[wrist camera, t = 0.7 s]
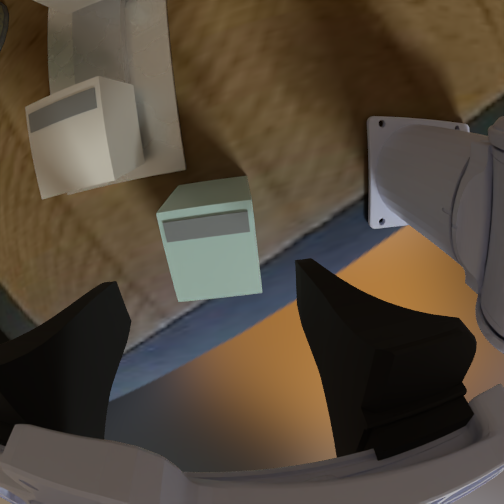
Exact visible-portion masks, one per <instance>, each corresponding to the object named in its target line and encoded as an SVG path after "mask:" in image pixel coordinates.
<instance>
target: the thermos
mask: <svg viewBox="0 0 504 504" xmlns="http://www.w3.org/2000/svg"><path fill="white" fill-rule="evenodd" d="M8 21H9V14H8V10H7V7H6V6H5V5H4V4H3V3H2V2H0V51H1V48H2V46H3V44H4V41H5V37H6V33H7V30H8Z"/></svg>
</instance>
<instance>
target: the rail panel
mask: <svg viewBox="0 0 504 504" xmlns="http://www.w3.org/2000/svg"><path fill="white" fill-rule="evenodd" d="M48 70H49V85H50V95H51V94H54V93H56V92H58V91H61V90H63V89H65V88H68V87H70V86H73V85H75V84H78V83H80V82H83V81H86V80H89V79H91V78H94V77H97V76H101V77H105V78H109V79H113V80H117V81H121V82H124V83H128V84H131V85H133V86H134V94H135V102H136V109H137V116H138V123H139V130H140V136H141V142H142V148H143V154H144V160H145V164H143V165H141V166H139V167H137V168H136V169H134V170H132V171H130V172H129V173H127V174H125V175H123V176H122V177H120V178H118V179H116V180H115V181H110V182H106V183H102V184H98V185H94V186H90V187H86V188H82V189H78V190H74V191H70V192H67V194H68V195H70V194H74V193H78V192H82V191H86V190H90V189H94V188H98V187H102V186H106V185H111V184H115V183H120V182H124V181H129V180H134V179H139V178H144V177H149V176H154V175H159V174H165V173H171V172H176V171H182V170H186V169H187V167H186V160H185V154H184V148H183V141H182V134H181V127H180V120H179V113H178V106H177V98H176V90H175V82H174V74H173V65H172V56H171V46H170V36H169V25H168V13H167V1H166V0H101V1H99V2H96V3H94V4H91V5H89V6H86V7H84V8H82V9H79V10H77V11H75V12H72V13H70V14H68V15H64V14H62V13H60V12H58V11H56V10H54V9H51V8H48Z"/></svg>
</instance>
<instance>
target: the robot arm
mask: <svg viewBox="0 0 504 504" xmlns="http://www.w3.org/2000/svg"><path fill="white" fill-rule="evenodd" d="M380 120H381V121H382V122H383V125H382V127H380V126H379V121H380ZM455 127H456V130H455ZM367 137H368V169H369V201H368V224H369V226H370V227H372V228H373V229H377V228H386V227H395V226H404V225H410V226H411V227H413V228H414V229H416V230H417V231H418V232H420V233H421V234H422V235H423V236H425V237H426V238H428V239H429V240H430V241H431V242H433V243H434V244H435V245H437V246H438V247H439V248H440V249H441V250H443V251H444V252H445V253H446V254H448V255H449V256H450V257H451V258H453V259H454V260H455V261H456V262H457V263H459V264H460V265H461V266H462V267H463V268H464V270H465V275H466V280H465V283H466V284H467V285H468V286H469V287H470V288H471V289H473V290H474V291H475V292H476V293H477V294H478V298H477V302H476V319H477V323H478V325H479V328H480V330H481V332H482V333H483V335H484V336H485V338H486V339H487V340H488V341H489V342H490V343H491V344H492V345H493V346H494V347H495V348H496V349H498V350H499V351H500V352H502V353H503V354H504V117H500V118H498V120H497V121H496V122H495V123H494V125H492V126H490V127H489V128H488V136H485V135H480V134H475V133H470V132H469V127H468V125H467V124H464V123H457V122H449V121H440V120H430V119H419V118H405V117H385V116H371V117H369V118H368V120H367ZM382 218H383V221H382V222H381V223H379V220H380V219H382ZM295 266H296V289H297V306H298V311H299V315H300V320H301V324H302V327H303V330H304V333H305V335H306V338H307V341H308V343H309V346H310V349H311V351H312V354H313V356H314V359H315V362H316V365H317V367H318V370H319V373H320V377H321V380H322V385H323V389H324V393H325V397H326V402H327V407H328V411H329V416H330V421H331V426H332V432H333V437H334V442H335V449H336V455H337V458H333V459H329V460H324V461H319V462H314V463H308V464H302V465H296V466H288V467H281V468H273V469H263V470H253V471H237V472H182V471H181V470H180V469H179V468H178V467H177V466H175V465H174V464H173V463H171V462H170V461H169V460H167V459H166V458H164V457H163V456H162V455H159V454H156V453H153V452H151V451H148V450H146V449H143V448H141V447H138V446H133V445H128V444H124V443H120V442H116V441H110V440H104V432H105V421H106V413H107V407H108V402H109V396H110V391H111V387H112V384H113V381H114V378H115V375H116V372H117V369H118V366H119V363H120V361H121V358H122V355H123V352H124V349H125V346H126V343H127V340H128V336H129V331H130V325H131V319H130V317H129V314H128V312H127V309H126V306H125V304H124V301H123V298H122V296H121V293H120V290H119V287H118V285H117V282H116V281H114V282H104V283H102V284H100V285H98V286H97V287H95V288H93V289H92V290H90V291H89V292H88V293H86V294H85V295H83V296H82V297H81V298H79V299H78V300H76V301H75V302H74V303H72V304H71V305H70V306H68V307H67V308H65V309H64V310H62V311H61V312H60V313H58V314H57V315H55V316H54V317H53V318H51V319H49V320H48V321H46V322H45V323H43V324H42V325H40V326H38V327H36V328H35V329H33V330H31V331H29V332H27V333H25V334H23V335H21V336H19V337H17V338H15V339H13V340H11V341H8V342H6V343H3V344H1V345H0V497H1V498H3V499H5V500H7V501H9V502H10V503H12V504H451V503H453V502H455V501H457V500H458V499H460V498H462V497H464V496H465V495H467V494H469V493H470V492H472V491H474V490H476V489H477V488H479V487H480V486H482V485H484V484H485V483H487V482H488V481H490V480H491V479H492V478H494V477H496V476H497V475H498V474H499V473H500V472H502V471H503V470H504V387H503V386H502V385H501V384H498V385H496V386H494V387H493V388H491V389H489V390H487V391H485V392H483V393H481V394H479V395H478V396H476V397H474V398H473V399H472V400H471V401H470V402H469V403H468V402H467V401H466V399H465V397H464V395H465V394H466V392H467V390H466V388H465V386H464V385H463V383H462V381H463V379H464V376H465V375H466V373H467V371H468V369H469V367H470V365H471V363H472V361H473V358H474V355H475V353H476V343H477V342H476V339H475V337H474V335H473V334H472V333H471V332H470V330H469V329H468V328H467V327H466V326H465V325H464V323H463V322H462V321H461V320H460V319H459V318H456V317H448V316H441V315H433V314H428V313H423V312H419V311H414V310H411V309H407V308H403V307H400V306H397V305H394V304H391V303H388V302H386V301H383V300H381V299H378V298H376V297H373V296H371V295H369V294H367V293H365V292H363V291H361V290H359V289H357V288H356V287H354V286H352V285H350V284H349V283H347V282H345V281H344V280H342V279H340V278H339V277H337V276H336V275H334V274H333V273H331V272H330V271H329V270H327V269H326V268H324V267H323V266H321V265H320V264H319V263H317V262H316V261H314V260H313V259H311V258H310V259H302V260H295Z"/></svg>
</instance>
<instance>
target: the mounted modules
mask: <svg viewBox="0 0 504 504" xmlns="http://www.w3.org/2000/svg"><path fill="white" fill-rule="evenodd" d="M33 1H35V2H38V3H40V4H42V5H45V6H47V7H49V8H51V9H54V10H56V11H58V12H60V13H62V14H64V15H68V14H70V13H72V12H75V11H77V10H79V9H82V8H84V7H86V6H89V5H91V4H94V3H96V2H99V1H101V0H33ZM25 109H26V118H27V126H28V133H29V140H30V146H31V151H32V157H33V162H34V167H35V172H36V176H37V181H38V185H39V189H40V193H41V197H42V199H45V198H49V197H52V196H56V195H59V194H63V193H67V192H70V191H74V190H78V189H82V188H86V187H90V186H94V185H98V184H102V183H106V182H110V181H115V180H116V179H118V178H120V177H122V176H123V175H125V174H127V173H129V172H130V171H132V170H134V169H136V168H137V167H139V166H141V165H143V164H145V160H144V154H143V148H142V142H141V136H140V130H139V123H138V116H137V109H136V102H135V94H134V86H133V85H131V84H128V83H124V82H121V81H117V80H113V79H109V78H105V77H101V76H97V77H94V78H91V79H89V80H86V81H83V82H80V83H78V84H75V85H73V86H70V87H68V88H65V89H63V90H61V91H58V92H56V93H54V94H51V95H49V96H47V97H45V98H43V99H41V100H38V101H36V102H34V103H32V104H30V105H28V106H26V107H25Z"/></svg>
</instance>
